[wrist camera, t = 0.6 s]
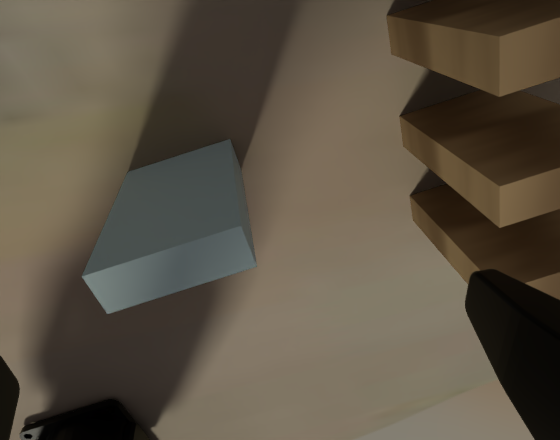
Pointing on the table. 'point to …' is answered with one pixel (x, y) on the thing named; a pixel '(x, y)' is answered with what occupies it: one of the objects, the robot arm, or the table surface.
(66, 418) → the robot arm
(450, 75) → the domino
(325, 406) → the table surface
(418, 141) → the domino
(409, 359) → the table surface
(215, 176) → the blue-grey rectangular block
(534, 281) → the domino
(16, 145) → the table surface
